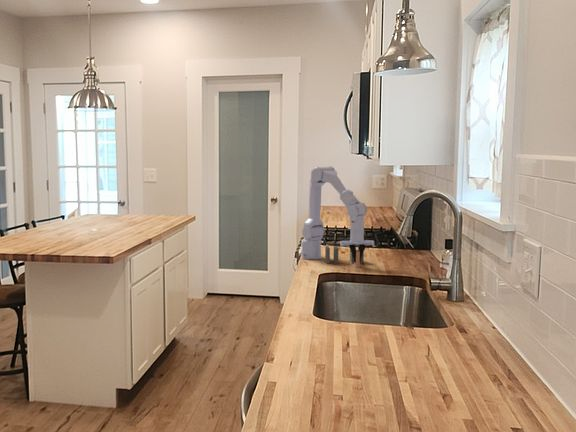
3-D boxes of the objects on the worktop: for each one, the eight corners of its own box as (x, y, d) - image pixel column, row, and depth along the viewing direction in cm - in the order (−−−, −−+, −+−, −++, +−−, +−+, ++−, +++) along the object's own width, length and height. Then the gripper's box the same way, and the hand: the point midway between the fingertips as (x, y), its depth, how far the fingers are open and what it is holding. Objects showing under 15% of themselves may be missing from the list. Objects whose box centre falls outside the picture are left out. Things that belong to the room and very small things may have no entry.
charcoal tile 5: (326, 263, 223) (326, 248, 222) (325, 261, 228) (325, 246, 227) (329, 263, 223) (329, 248, 222) (328, 261, 228) (328, 246, 227)
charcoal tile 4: (334, 263, 223) (335, 248, 222) (333, 261, 228) (333, 246, 227) (338, 263, 223) (338, 248, 222) (336, 261, 228) (336, 246, 227)
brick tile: (356, 267, 214) (356, 251, 214) (354, 265, 219) (354, 249, 218) (359, 267, 214) (359, 251, 214) (357, 265, 219) (357, 249, 218)
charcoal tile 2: (351, 263, 223) (351, 247, 222) (350, 260, 228) (350, 245, 227) (355, 263, 223) (355, 247, 222) (353, 260, 228) (353, 245, 227)
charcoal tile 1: (360, 263, 223) (360, 247, 222) (358, 260, 228) (358, 245, 227) (363, 263, 223) (363, 247, 223) (361, 260, 228) (361, 245, 227)
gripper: (341, 232, 211) (341, 264, 212) (375, 232, 211) (375, 263, 213) (339, 230, 218) (339, 260, 219) (372, 229, 218) (372, 260, 220)
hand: (356, 261), depth 216 cm, fingers closed on brick tile, 1 cm apart
